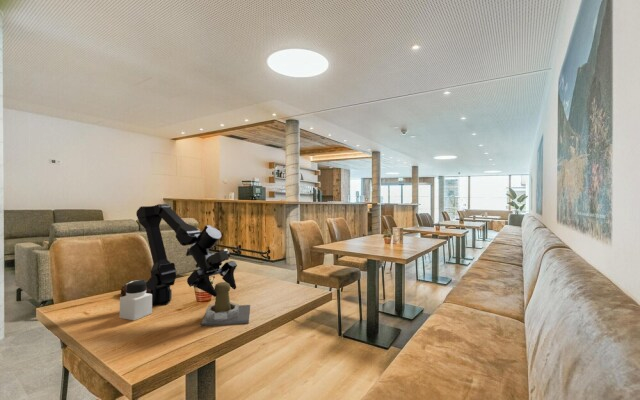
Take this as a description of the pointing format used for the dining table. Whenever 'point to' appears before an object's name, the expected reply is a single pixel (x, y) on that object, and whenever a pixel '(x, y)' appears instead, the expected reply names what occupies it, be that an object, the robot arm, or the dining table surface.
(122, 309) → the medicine bottle
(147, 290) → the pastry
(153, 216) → the robot arm
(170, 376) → the dining table surface
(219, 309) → the cork
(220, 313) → the socket block
